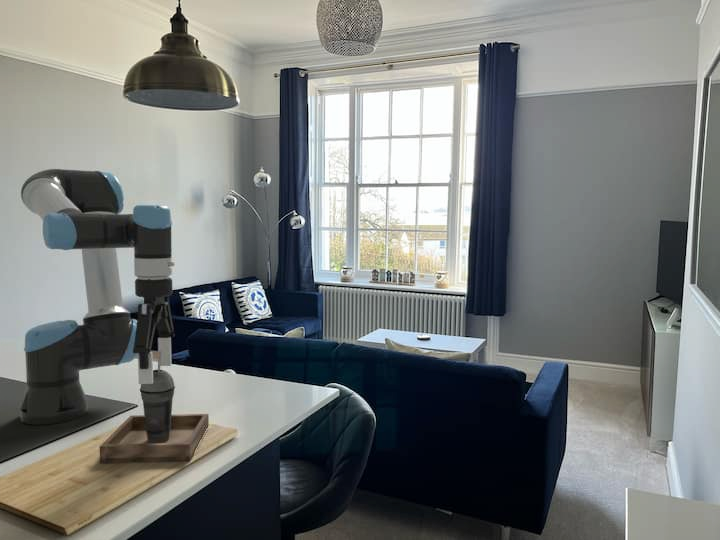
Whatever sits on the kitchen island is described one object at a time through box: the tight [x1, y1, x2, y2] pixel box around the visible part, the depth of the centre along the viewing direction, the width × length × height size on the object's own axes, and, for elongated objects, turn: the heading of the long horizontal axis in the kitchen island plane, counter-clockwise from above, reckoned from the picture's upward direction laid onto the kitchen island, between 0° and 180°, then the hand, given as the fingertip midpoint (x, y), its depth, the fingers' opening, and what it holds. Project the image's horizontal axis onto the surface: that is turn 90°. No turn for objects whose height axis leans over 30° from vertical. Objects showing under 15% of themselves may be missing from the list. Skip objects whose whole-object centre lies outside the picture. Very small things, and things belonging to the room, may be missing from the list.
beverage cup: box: [139, 351, 176, 443], centre depth 119 cm, size 7×7×20 cm
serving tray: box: [98, 413, 210, 464], centre depth 120 cm, size 18×18×4 cm
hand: (156, 374), depth 119 cm, fingers open, 13 cm apart
